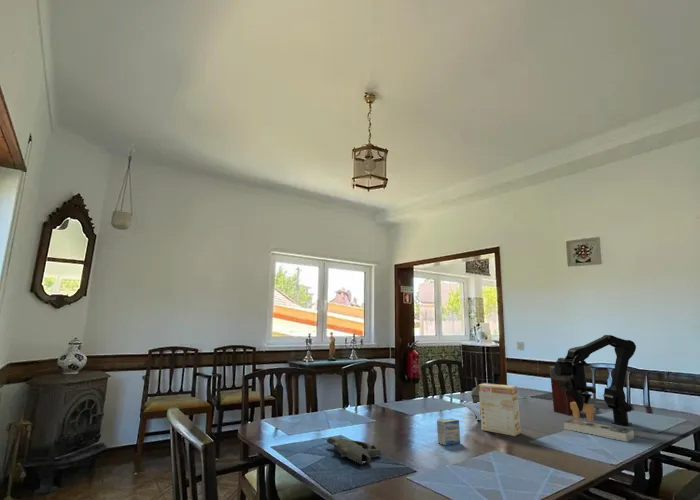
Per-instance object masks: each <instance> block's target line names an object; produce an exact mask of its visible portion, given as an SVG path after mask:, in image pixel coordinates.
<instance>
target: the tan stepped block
mask: <svg viewBox="0 0 700 500" xmlns="http://www.w3.org/2000/svg"><path fill="white" fill-rule="evenodd" d="M570 407H571V409H572V411H573V415H572V418H576V419H580V418H581V414H580V413H581V412H584V413H585V414H586V420H588V421H594V420H595V419H594V413H595V405H594V404H592V403H591V404H590V403H588V404H585V403H584V405H583V409H582V411H581V412H580V413H579V409H578V406H577V404H576V402H571V403H570Z"/></svg>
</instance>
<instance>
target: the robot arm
mask: <svg viewBox="0 0 700 500" xmlns="http://www.w3.org/2000/svg"><path fill="white" fill-rule="evenodd" d="M607 346H611V347H613V348H614V353H615V355H616V358H615V364H614V369H613V375H612V378H611V384H610V386H609V387H605V388H604V390H603V391H604V392H603V395H602V396H603V400H604V402H605V403H606V405H607V407H608V409H612V416H613V420H612V421H610V423H611V424H614V425H618V426H619V425H620V426H625V427H628V426H630V425H632V423H633V422H629V415H628V413H631V412H632V409H633V407H632V406H631V405H630V404H629V403H628V402H627V401H626V393H625V391H624V388H625V383H626V376H627V371H628V368H629V367H628V365H629V361H630V359H631V358H632V357H633V356H634V355H635V352H636V349H637V345H636V343H635V342H634V341H633V340H630V339H625V338H621V337H617V336H615V335H611V334H604V335H603V336H601V337H599V338H597V339H595V340H593V341H590V342H588V343H586V344H584V345H581V346H580V345H579V346H576V347H571V348H569V349H567V353H566V356H565V357H564V358H565V359H564V361H557V360H556V361H555V364H554V365H553V366H554V371H555V374H556V375H557V376H571V375H572V377H571V378H570V381H567V382H565V381H564V380H562V381H560V384H559V387H561V388H562V390H565V389H566V390H565V395H567V396H571V397H572V398H574V400H575V402H576V404H577V406H578V409H579V411H580V412H583V411H582V409H583V405H584V403H585V404H590V403H589V402H590V399H591V398H592V396H593V394H596V388H595V387H594V386H592V385H588V384H587V381H589V379H588V377H587V376H586V367H590V364H589V363H587V362H586V359H588V358H589V357H590V355H591V354H593V353H595V352H597V351H599V350H601V349H603V348H605V347H607ZM569 388H570V389H569ZM591 393H592V394H591Z"/></svg>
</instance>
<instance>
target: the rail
mask: <svg viewBox="0 0 700 500" xmlns="http://www.w3.org/2000/svg"><path fill="white" fill-rule="evenodd" d="M563 428H564V430H568V431H572V432H576V431H577V433H581V432H582V433H583V434H586V433H588V434H587V435H591V434H593V436H596V435H597V437H601V436H602V437H601V438H607V439H612V440H615V439H616V441H620V440H621V442H626V443H628V442H629V441H632V440H633V439H635V434H634V430H632V429H627V428H621V427H617V426H613V425H606V424H599V423H595V422H588V421H583V420H579V419H569V420H566V421H563Z"/></svg>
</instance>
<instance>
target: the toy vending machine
mask: <svg viewBox="0 0 700 500" xmlns="http://www.w3.org/2000/svg"><path fill="white" fill-rule="evenodd" d="M564 359H565V357H558V358H557V360H556V361H564ZM554 366H555V365H552V366H549V374H550V375H549V376H550V382H551V383H550V385H551V395H552V406H553V412H554V413H557V414H560V415H561V414H562V415H565V416H566V415H567V416H573V411H572V409H571V407H570V403H571V402H575V400H574V398H572V397H571V396H567V395H565V390H566V389H565V390H562V388H561V387H559V384H560V381H562V380H564V381H565V382H567V381H570V378H571V377H572V375H571V376H557V375H556V374H555V371H554ZM569 389H570V388H569ZM579 413H580V415H581V413H582V412H581V411H579Z"/></svg>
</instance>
